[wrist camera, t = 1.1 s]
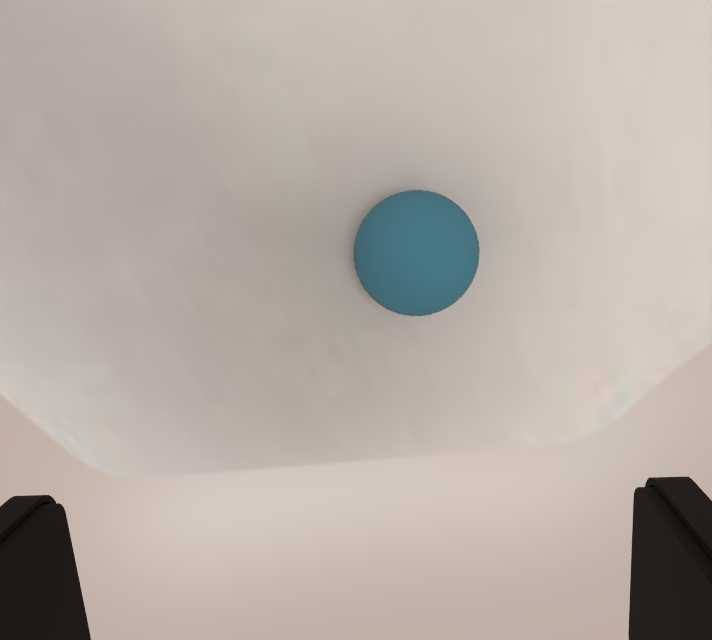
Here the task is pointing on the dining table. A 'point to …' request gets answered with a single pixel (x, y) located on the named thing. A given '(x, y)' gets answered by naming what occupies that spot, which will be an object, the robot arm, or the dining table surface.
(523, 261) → the dining table surface
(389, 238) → the ball
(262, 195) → the dining table surface
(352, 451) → the dining table surface
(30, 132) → the dining table surface
